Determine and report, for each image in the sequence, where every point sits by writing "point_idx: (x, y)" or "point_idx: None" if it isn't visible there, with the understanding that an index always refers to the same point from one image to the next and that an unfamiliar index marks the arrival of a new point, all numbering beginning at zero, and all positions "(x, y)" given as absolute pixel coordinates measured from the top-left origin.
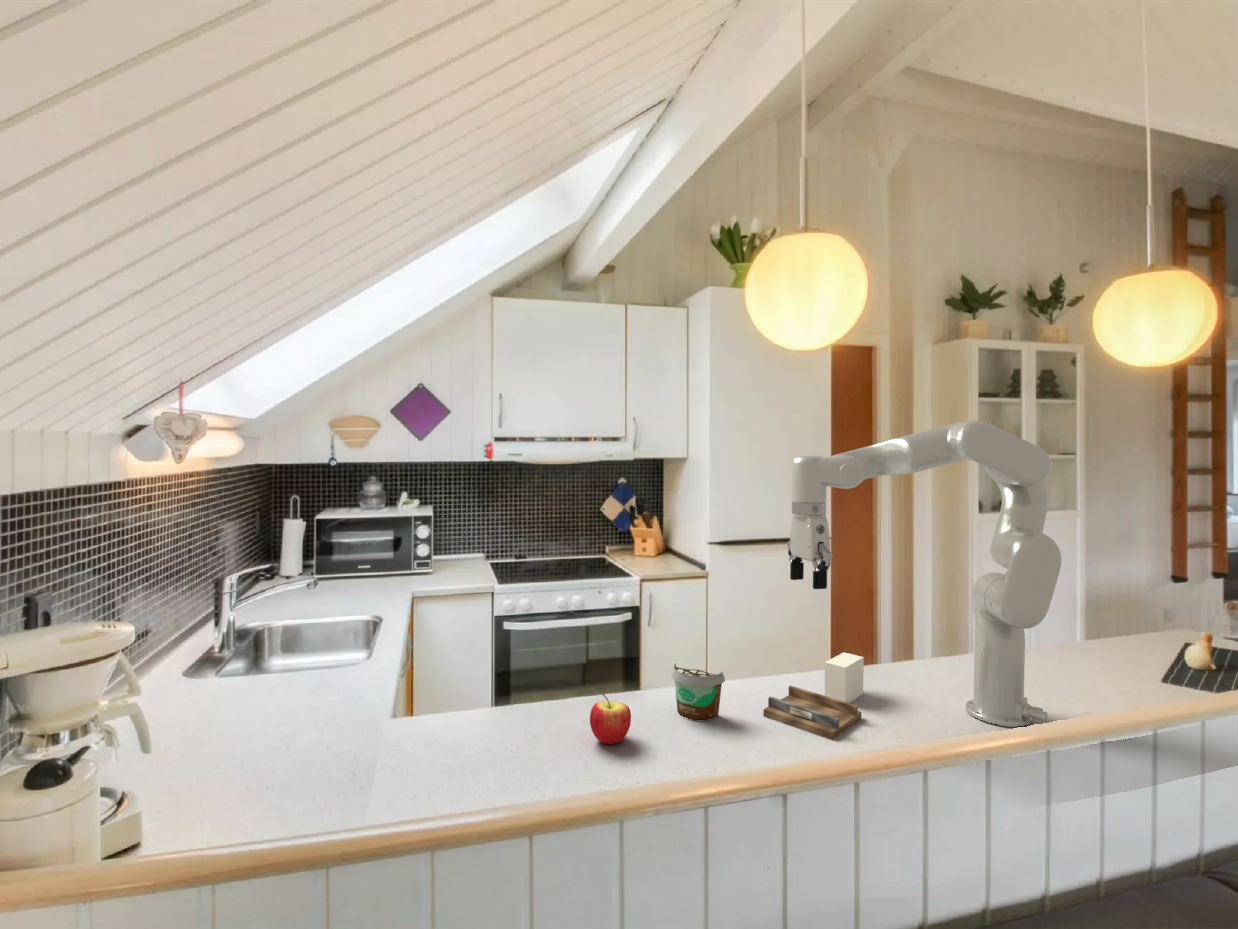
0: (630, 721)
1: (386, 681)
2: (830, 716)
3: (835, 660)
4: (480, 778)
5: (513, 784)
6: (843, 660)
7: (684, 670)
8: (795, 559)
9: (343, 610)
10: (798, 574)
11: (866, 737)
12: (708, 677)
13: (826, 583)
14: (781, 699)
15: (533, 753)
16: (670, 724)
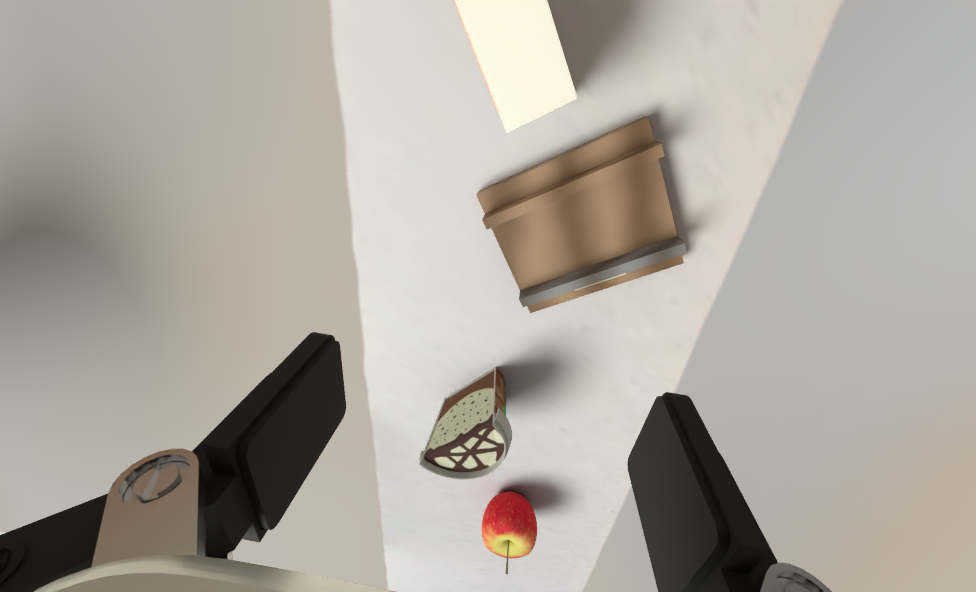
0: (524, 512)
1: None
2: (666, 253)
3: (506, 80)
4: (533, 585)
5: (556, 574)
6: (518, 47)
7: (444, 455)
8: (208, 551)
9: None
10: (323, 401)
11: (715, 182)
12: (505, 452)
13: (700, 424)
14: (503, 252)
15: None
16: None
